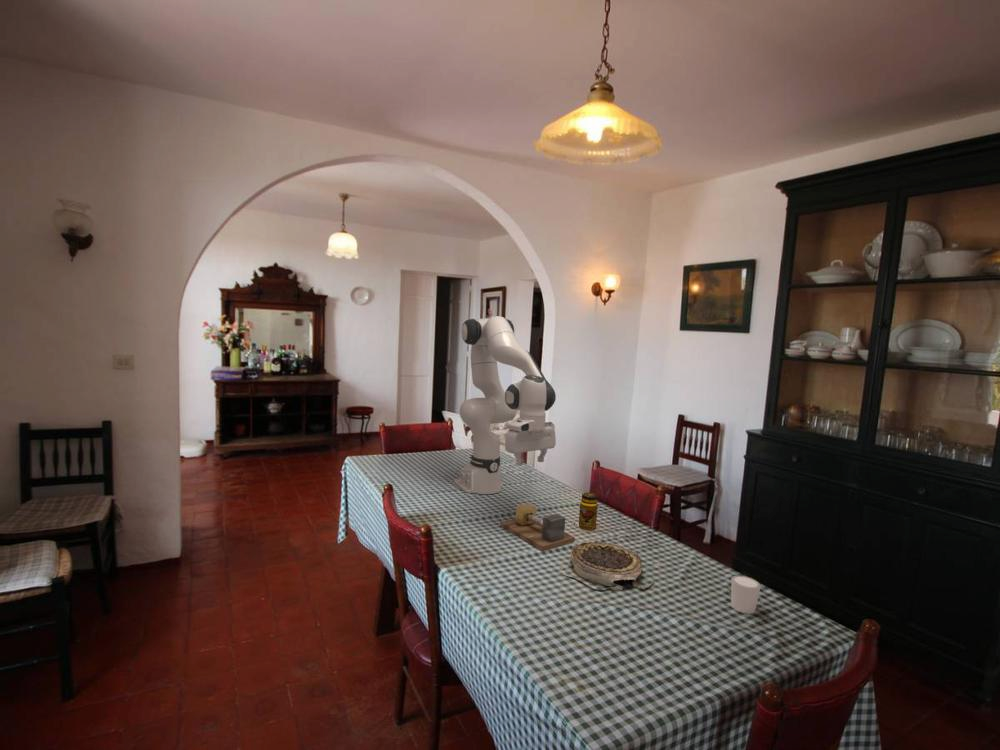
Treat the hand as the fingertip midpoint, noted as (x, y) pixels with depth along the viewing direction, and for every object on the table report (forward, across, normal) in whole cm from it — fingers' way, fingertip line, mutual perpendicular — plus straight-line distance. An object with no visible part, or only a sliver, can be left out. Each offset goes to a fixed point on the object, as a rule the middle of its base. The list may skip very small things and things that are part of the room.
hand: (530, 463), depth 173 cm
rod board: (+23, +1, +6) cm, 23 cm away
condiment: (+23, -19, +10) cm, 32 cm away
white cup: (+25, -16, +68) cm, 74 cm away
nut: (+21, +1, 0) cm, 21 cm away
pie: (+24, -1, +35) cm, 42 cm away
